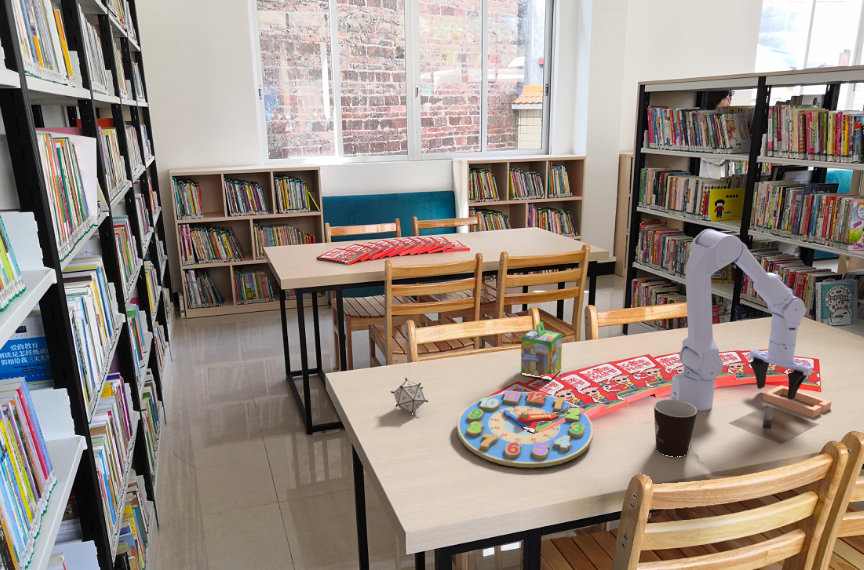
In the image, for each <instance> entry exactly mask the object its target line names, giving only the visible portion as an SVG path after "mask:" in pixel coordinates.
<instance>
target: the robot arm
mask: <svg viewBox="0 0 864 570" xmlns="http://www.w3.org/2000/svg"><path fill="white" fill-rule="evenodd" d="M691 245H692V249H691V252H690V254H689V256H688V260H687V262H686V265H685V267H684V268H685V291H686V292H685V293H686V295H685V296H686V314H687V318H686V319H687V337H686V338H684V339H683V340H682V342H681V343H682V344H681V345H682V346H681V350H680V352H679V355H678V356H679V361H680V363H681V364H682V365H683V369H682V370H683V372H681V373H678V374H673V376H672V378H671V386H670V394H669V395H670V397H669V399H674V400H680V401H684V402H687V403H690V404H691V405H693V406H694V407H695V408H696V409H697V411H701V412H702V411H709V410H711V409H713V405H714V397H715V396H714V393H715V385H716V380H717V378H718V377H719V376H721V374H722V373H723V369H724V363H723V362H724V361H723V360H722V358H721V356H720V350H719V347H718V345H717V343H716V342H715V340H714V335H713V334H714V333H713V303H712V299H713V297H712V275H714V273H716V272H717V271H719V270H721V269H722V268H725V267H727V266H728V265H730V264H731V263H735V265H737V266H738V268H740V269H741V270H742V271H743V273H745V274H746V275H747V276H748V277H749V278H750V279H751V280H752V281H753V285H752V287H753V290H754V291H755V292H756V293H757V294H758V295H759V296H760V297H761V299H763V301H764V302H765V303H766V304H767V305H766V306H767V309H768V311H770V312H771V313H772V316H771V322H770V323H771V324H770V330H769V331H770V333H769V339H768V347H767V351H762V350H758V349H752V350H749V354H748V355H749V357H748V358H749V359H751V360H752V361H750V363H749V364H750V367H751V368H752V371H753V373H754V376H755V380H756V387H757V389H759V390H760V389H761V390H762V389H763V388H765V387H766V380H767V373H768V369H769V366H770V364H771V365H774V366H778V367H781V368H784V369H786V370H790V371H791V372H788V373H787V378H788V379H787V380H788V388H789V389H788V396H787V399H789V400H794V398H795V395H796V393H797V391H799V389H800V386H801V385H802V384H803V382H804V381H805V380H806V378H807V377H808V376H810V375H812V373H813V365H812V366H811V365H808V364H806V363H805V362H804V363H803V362H802V361H799V360H797V359H795V358H794V357H795V351H796V344H797V336H798V330H799V326H800V324H801V321H802V319H803V318H804V316H805V315H806V313H807V311H808V310H807V309H808V308H806V306H805V303H804V301H803V299H801V298H799V297H798V296H795V295H794V293H793V292H794V291H793V289H792V288H790V287H788V286H786V284H785V283H784V282H783V281H782V279H783V277H782V276H781V275H780V274H778V273H773V272H766V270H765V269H764V267H763V266H762V265H761V264H760V262H759V261H758V260H757V259H756V257H755V256H754V255H753V254H752V252H751V251H750V250H749V249H748V246H747V245H746V243H744V242H742V241H741V239H740V238H739V237H738V236H737V235H732V234H727V233H724V232H721V231H717V230H715V229H713V228H707V229H704V230H702V231H700V233H698V234H697V235H696V236H695V238H693V240H692V244H691Z"/></svg>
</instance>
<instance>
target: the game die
mask: <svg viewBox="0 0 864 570" xmlns="http://www.w3.org/2000/svg"><path fill="white" fill-rule="evenodd" d="M404 380H405V381H404V382H403V383H402V384H401V385H399V387H398V388H396V390H394V391H393V390H391V391H390V393H391V394H393V396H394V399H395V402H396V404H395V408H397V407H398V408H401V409H400V410H404V411H406V412H408V413H411V414H412V413H413V414H414V413H415V412H416V410H418V409H419V408H420V407H421V406H422V405H424V403H425V402H426V403H428V402H429V400H428V399H426V398H425V396H424V393H423V391H422V390H423V389H424V387H423V386H421V385H422V383H421V382H419V383H418V384H417V383H414V382H412V381H409V380H408V378H407V377H405V378H404Z"/></svg>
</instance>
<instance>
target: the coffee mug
mask: <svg viewBox="0 0 864 570" xmlns="http://www.w3.org/2000/svg"><path fill="white" fill-rule="evenodd" d="M653 408H654V409H653V413H654V432H655V449H656V450H658V451H659V452H660V453H659V452H658V451H657V452H658V453H659V454H661V453H662V454H664V455H663V456H665V455H668V456H673V457H677V456H678V457H679V456H684V455H686V454H687V455H688V452H689V450H690V449H689V448H690V444H691V440H692V435H693V431H694V426H695V423H696V418H697V415H698V414H697V413H698V410H697V409H696V408H695V407H694V406H693V405H691V404H690V403H687V402H684V401H680V400H674V399H670V398H666V399H660V400H656V401H655V402H654V404H653ZM662 454H661V455H662ZM687 455H686V456H687ZM668 456H667V457H668ZM673 457H672V458H673ZM684 457H685V456H684Z"/></svg>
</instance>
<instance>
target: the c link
mask: <svg viewBox="0 0 864 570" xmlns="http://www.w3.org/2000/svg"><path fill="white" fill-rule="evenodd" d="M788 389H789V386H786V385H782V384H781V385H779V386H776V387H774V388H772V389H769V390H767V391H766V392H764V393H763V398H762V400H763V401H766V402H768V403H770V404H771V403H772V404H775V405H776V406H779V407H782V408H785V409H787V410H791V411H794V412H796V413H799V414H802V415H805V416H807V417H811V418H815V417H817V416H819V415H821V413H825V412H827V411H828V410H831V406H832V401H830V400H828V399H824V398H821V397H819V396H815V395H812V394H810V393H809V394H808V393H807V392H804V391H800V390H797V393H796V395H795V398H793V399H791V400H790V399H788V398H786V397H788ZM782 395H783V396H782ZM784 396H786V397H784ZM795 400H797V401H801V402H803V403H807V404H809V405H812V406H809V405H807V404H803V403H800V402H797V401H795Z"/></svg>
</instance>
